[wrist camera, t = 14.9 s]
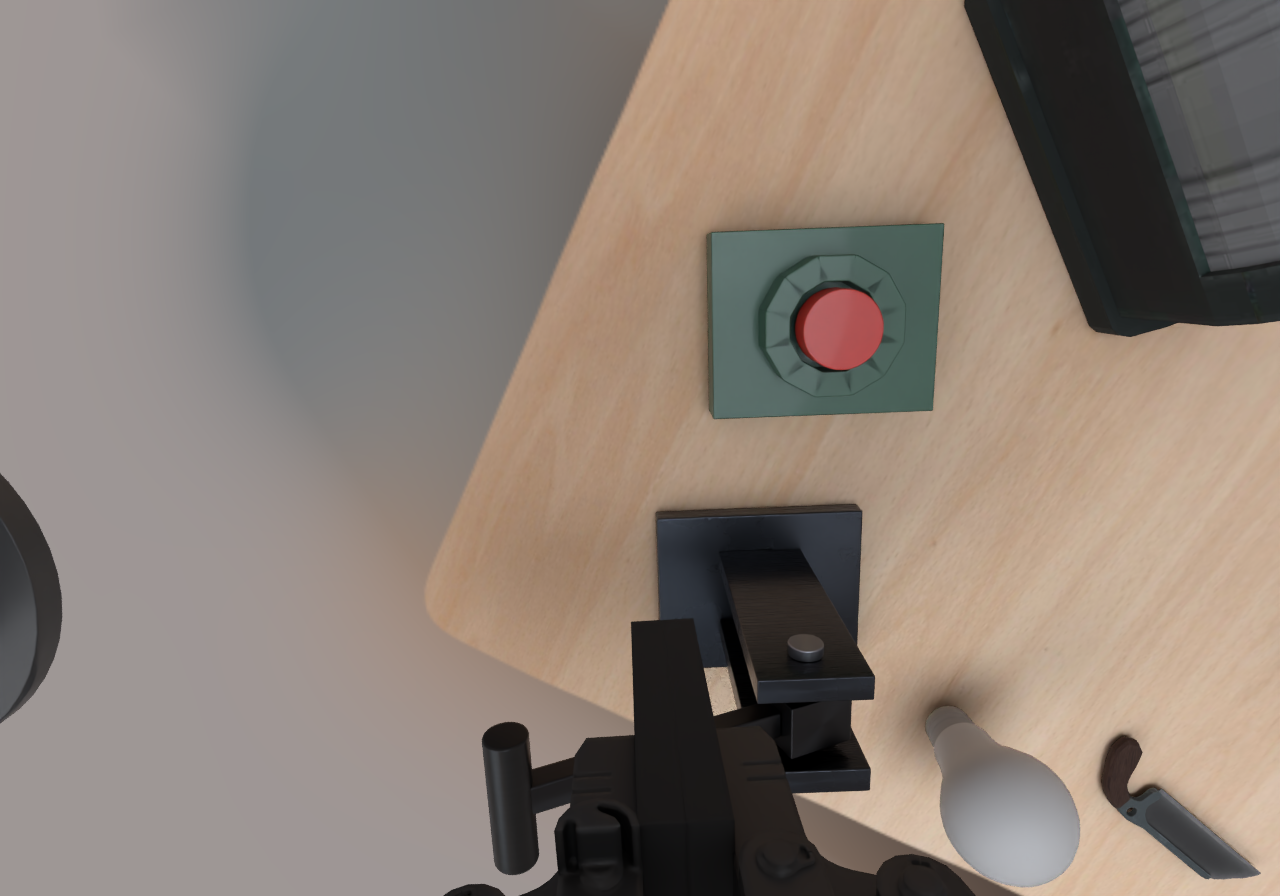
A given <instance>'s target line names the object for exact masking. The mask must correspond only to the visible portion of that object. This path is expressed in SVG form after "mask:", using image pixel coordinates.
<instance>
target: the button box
mask: <svg viewBox="0 0 1280 896" xmlns="http://www.w3.org/2000/svg"><path fill="white" fill-rule="evenodd" d="M943 236H944V223H935V224H909V225H883V226H857V227H831V228H805V229H778V230H752V231H726V232H711V233H708V234H707V300H708V370H709V411H710V413H711V415H712V417H713V419H729V418H755V417H781V416H807V415H833V414H859V413H885V412H911V411H932V410H933V397H934V381H935V365H936V349H937V333H938V317H939V301H940V285H941V268H942V252H943ZM833 287H840V288H848V289H855V290H858V291H861V292H863V293H865V294H867V295H868V296H870V297H871V298H872V299H873V300H874V301H875V303H876V304H877V305H878V307H879V309H880V311H881V313H882V317H883V322H884V331H883V336H882V340H881V343H880V345H879V347H878V349H877V350H876V352H875V353H874V354H873V355H872V357H871V358H870V359H868V360H867V361H866V362H865V363H863V364H861V365H860V366H858V367H855V368H852V369H848V370H833V369H829V368H826V367H824V366H822V365H820V364H818V363H816V362H815V361H813V360H811V359H810V358H809V357H807V356H806V355H805V354H804V353H803V351H802V350H801V348H800V347H799V345H798V342H797V339H796V335H795V323H796V318H797V315H798V313H799V311H800V309H801V307H802V305H803V304H804V303H805V302H806V300H807V299H809V298H810V297H811V296H812V295H814V294H815V293H817V292H819V291H821V290H823V289H827V288H833Z"/></svg>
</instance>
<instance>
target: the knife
mask: <svg viewBox="0 0 1280 896" xmlns="http://www.w3.org/2000/svg"><path fill="white" fill-rule="evenodd" d="M1142 753H1143V752H1142V750H1141V748H1140V746H1139V744H1138V742H1137V740H1135V739H1133V738H1128V737H1124V736H1122V737H1121V738H1120V739H1119V740H1117V741H1116V742H1115V743H1114V744H1113V745H1112V746H1111V748H1110V750H1109V753H1108V756H1107V758H1106V762H1105V767H1104V771H1103V776H1102V786H1103V791H1104V793H1105V795H1106V797H1107V799H1108V801H1109V802H1110V803H1111V804H1112V805H1113V806H1114V807H1115V808H1116V809H1117V810H1118V811H1119V812H1120V813H1121V814H1122V815H1123V816H1124V818H1126V819H1127V820H1129V821H1130V822H1132V823H1134V824H1136V825H1138V826H1140V827H1142V828H1143V829H1145V830H1146V831H1147V832H1148V833H1149V834H1151V835H1152V836H1153V837H1154V838H1155V839H1157V840H1158V841H1159V842H1160V843H1161V844H1163V845H1164V846H1165V847H1166V848H1167V849H1169V850H1170V851H1171V852H1172V853H1173V854H1175V855H1176V856H1177V857H1178V858H1180V859H1181V860H1182V861H1183V862H1184V863H1186V864H1187V865H1188V866H1189V867H1190V868H1192V869H1193V870H1194V871H1195V872H1196V873H1198V874H1199V875H1200V876H1202V877H1203V878H1205V879H1209V878H1212V879H1231V878H1247V877H1252V876H1256V875H1259V874H1261V873H1260V872H1259V871H1258V870H1257V869H1255V868H1254V867H1253V866H1252V865H1251V864H1250V863H1248V862H1247V861H1246V860H1245V859H1244V858H1242V857H1241V856H1240V855H1239V854H1238V853H1237V852H1235V851H1234V850H1233V849H1232V848H1231V847H1230V846H1228V845H1227V844H1226V843H1225V842H1224V841H1222V840H1221V839H1220V838H1219V837H1218V836H1217V835H1215V834H1214V833H1213V832H1212V831H1211V830H1210V829H1208V828H1207V827H1206V826H1205V825H1204V824H1202V823H1201V822H1200V821H1199V820H1198V819H1197V818H1195V817H1194V816H1193V815H1192V814H1191V813H1190V812H1188V811H1187V810H1186V809H1185V808H1184V807H1182V806H1181V805H1180V804H1179V803H1178V802H1177V801H1175V800H1174V799H1173V798H1172V797H1171V796H1170V795H1168V794H1167V793H1166V792H1165V791H1164V790H1162V789H1160V790H1157V789H1156V788H1150V789H1148V790H1147V791H1146V792H1144V793H1143V794H1142V795H1140V796H1138V797H1132V796H1130V795H1129V792H1128V789H1127V783H1128V780H1129V778H1130V776H1131V775H1132V773H1133V771H1134V770H1135V768H1136V766H1137V764H1138V762H1139V760H1140V757H1141V755H1142ZM1131 807H1133V810H1132V811H1130V812H1126V811H1127V810H1128V809H1129V808H1131Z"/></svg>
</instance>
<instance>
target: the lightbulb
mask: <svg viewBox="0 0 1280 896" xmlns="http://www.w3.org/2000/svg"><path fill="white" fill-rule="evenodd" d="M925 729H926V733H927V735H928V737H929V740H930V741H931V743H932V745H933V747H934V753H935V757H936V760H937V762H938V764H939V766H940V768H941V772H942V777H943V779H942V784H941V794H940V812H941V818H942V822H943V826H944V829H945V831H946V834H947V836H948V838H949V840H950V842H951V844H952V845H953V847H954V848H955V849H956V851H957V852H958V853H959V855H960V856H961V857H962V858H963V859H964V860H965V861H966V862H967V863H968V864H969V865H970V866H971V867H973V868H974V869H975V870H976V871H978V872H979V873H980V874H982V875H984V876H986V877H987V878H989V879H992V880H994V881H996V882H999V883H1002V884H1005V885H1010V886H1017V887H1034V886H1039V885H1042V884H1045V883H1048V882H1050V881H1052V880H1054V879H1056V878H1057V877H1058V876H1060V875H1061V874H1062V873H1063V872H1064V871H1065V870H1066V869H1067V868H1068V867H1069V866H1070V864H1071V863H1072V861H1073V859H1074V857H1075V854H1076V851H1077V849H1078V845H1079V839H1080V820H1079V816H1078V812H1077V809H1076V806H1075V803H1074V800H1073V798H1072V796H1071V794H1070V792H1069V791H1068V789H1067V788H1066V786H1065V784H1064V783H1063V782H1062V780H1061V779H1060V778H1059V777H1058V776H1057V775H1056V774H1055V773H1054V772H1053V771H1052V770H1051V769H1050V768H1049V767H1048V766H1046V765H1045V764H1043V763H1042V762H1041V761H1039V760H1038V759H1036V758H1034V757H1033V756H1031V755H1028V754H1026V753H1023V752H1021V751H1018V750H1015V749H1012V748H1010V747H1006V746H1002V745H1000V744H998V743H997V742H995V741H994V740H993V739H992V738H991V737H990V736H989V735H988V734H987V733H986V732H985V731H984V730H983V729H982V728H980V727H979V726H977V725H975V724H974V723H973V722H972V720H971V719H970V718H969V717H968V716H967V714H965V713H964V712H963V711H962V710H961V709H959V708H957V707H955V706H943V707H939V708H937V709H935V710H934V711H933V712H932V713H931V714H930V715H929V716H928V718H927V720H926V724H925Z"/></svg>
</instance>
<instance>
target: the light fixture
mask: <svg viewBox="0 0 1280 896" xmlns="http://www.w3.org/2000/svg"><path fill="white" fill-rule="evenodd" d="M965 9H966V12H967V14H968V17H969V19H970V22H971V24H972V27H973V29H974V32H975V35H976V37H977V40H978V42H979V45H980V47H981V50H982V52H983V55H984V58H985V60H986V63H987V65H988V68H989V70H990V73H991V75H992V78H993V81H994V83H995V86H996V88H997V91H998V93H999V96H1000V98H1001V101H1002V104H1003V106H1004V109H1005V111H1006V114H1007V116H1008V119H1009V121H1010V124H1011V127H1012V129H1013V132H1014V134H1015V137H1016V139H1017V142H1018V145H1019V147H1020V150H1021V152H1022V155H1023V157H1024V160H1025V162H1026V165H1027V168H1028V170H1029V173H1030V175H1031V178H1032V180H1033V183H1034V185H1035V188H1036V191H1037V193H1038V196H1039V198H1040V201H1041V203H1042V206H1043V208H1044V211H1045V214H1046V216H1047V219H1048V221H1049V224H1050V226H1051V229H1052V231H1053V234H1054V237H1055V239H1056V242H1057V244H1058V247H1059V249H1060V252H1061V254H1062V257H1063V260H1064V262H1065V265H1066V267H1067V270H1068V272H1069V275H1070V277H1071V280H1072V283H1073V285H1074V288H1075V290H1076V293H1077V295H1078V298H1079V300H1080V303H1081V306H1082V308H1083V311H1084V313H1085V316H1086V318H1087V321H1088V324H1089V326H1090V327H1091V328H1093V329H1094V330H1095V331H1096V332H1101V333H1107V334H1114V335H1121V336H1127V337H1132V336H1136V335H1139V334H1143V333H1146V332H1150V331H1154V330H1157V329H1161V328H1165V327H1168V326H1171V325H1173V324H1176V323H1189V324H1199V325H1210V326H1229V325H1246V324H1260V323H1268V322H1275V321H1280V0H965Z"/></svg>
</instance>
